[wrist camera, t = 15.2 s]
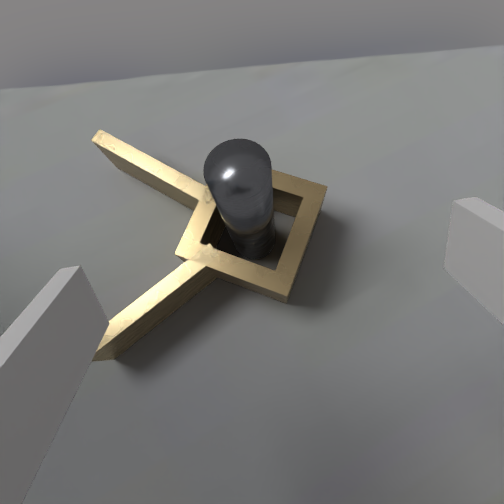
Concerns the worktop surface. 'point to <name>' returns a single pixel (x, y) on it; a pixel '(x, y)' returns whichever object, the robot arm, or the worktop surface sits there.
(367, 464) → the worktop surface
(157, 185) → the tan piece
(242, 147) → the hinge pin
